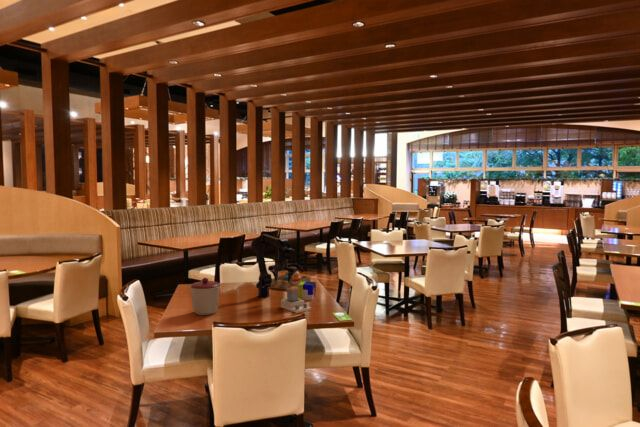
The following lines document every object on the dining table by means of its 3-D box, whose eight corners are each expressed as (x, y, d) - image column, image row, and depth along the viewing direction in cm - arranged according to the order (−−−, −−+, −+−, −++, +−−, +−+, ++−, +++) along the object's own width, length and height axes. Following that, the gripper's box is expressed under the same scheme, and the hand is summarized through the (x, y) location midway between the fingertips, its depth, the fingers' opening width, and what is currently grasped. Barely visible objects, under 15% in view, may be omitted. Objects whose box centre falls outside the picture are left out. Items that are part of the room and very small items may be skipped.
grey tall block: (287, 304, 276) (287, 287, 275) (293, 303, 279) (293, 286, 278) (291, 306, 272) (291, 288, 271) (298, 305, 275) (298, 287, 274)
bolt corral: (269, 287, 327) (269, 279, 326) (284, 281, 348) (284, 273, 348) (296, 290, 318) (296, 282, 317) (310, 284, 339) (310, 276, 339)
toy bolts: (311, 285, 337) (311, 268, 336) (296, 289, 323) (296, 272, 322) (293, 281, 348) (293, 266, 347) (278, 285, 334) (278, 269, 333)
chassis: (280, 306, 276) (280, 299, 276) (294, 303, 283) (294, 297, 282) (296, 313, 263) (296, 305, 263) (310, 309, 270) (311, 302, 270)
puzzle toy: (312, 300, 293) (312, 285, 292) (297, 299, 295) (297, 284, 294) (315, 296, 303) (315, 282, 302) (301, 295, 305) (301, 281, 304)
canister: (222, 316, 255) (222, 280, 254) (189, 318, 250) (189, 281, 249) (220, 307, 273) (219, 274, 271) (189, 309, 268) (189, 275, 266)
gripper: (263, 258, 283) (263, 283, 284) (289, 261, 275) (289, 285, 276) (272, 256, 293) (272, 279, 294) (297, 258, 286) (297, 282, 287)
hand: (282, 281), depth 287 cm, fingers open, 9 cm apart
